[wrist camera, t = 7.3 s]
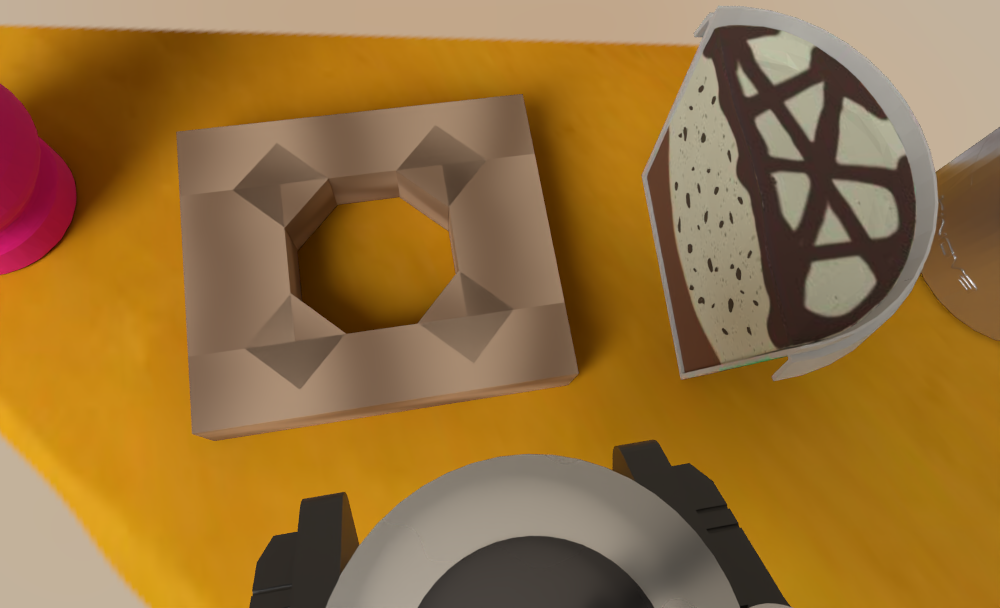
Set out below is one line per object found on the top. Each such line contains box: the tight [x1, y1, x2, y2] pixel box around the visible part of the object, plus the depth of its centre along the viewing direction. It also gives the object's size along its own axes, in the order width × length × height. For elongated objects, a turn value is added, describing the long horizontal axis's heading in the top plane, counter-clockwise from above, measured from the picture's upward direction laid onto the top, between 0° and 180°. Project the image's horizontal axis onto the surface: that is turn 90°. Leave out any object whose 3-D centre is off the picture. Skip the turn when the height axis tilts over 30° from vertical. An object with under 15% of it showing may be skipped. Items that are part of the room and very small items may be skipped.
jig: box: [177, 94, 579, 441], centre depth 29 cm, size 14×12×2 cm
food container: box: [642, 6, 938, 381], centre depth 26 cm, size 12×6×10 cm, turn 7°
